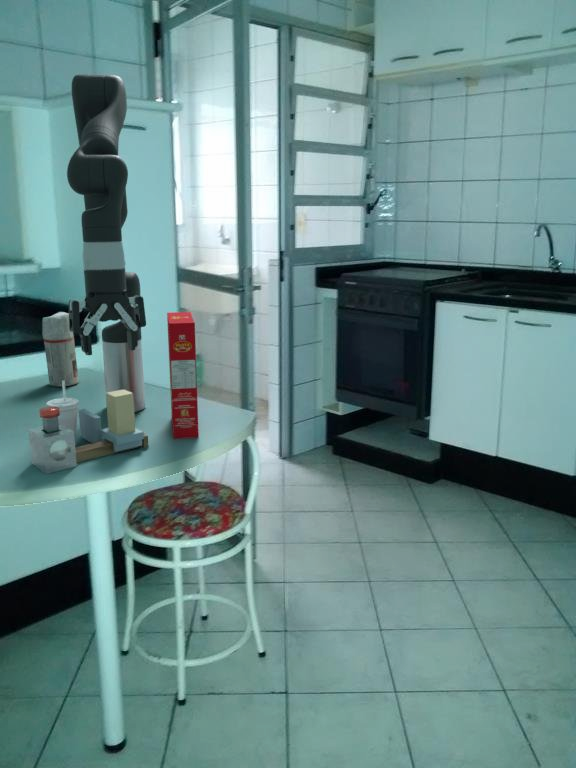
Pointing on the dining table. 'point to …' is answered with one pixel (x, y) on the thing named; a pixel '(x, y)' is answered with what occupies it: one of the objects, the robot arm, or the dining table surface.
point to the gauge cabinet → (53, 449)
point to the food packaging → (183, 374)
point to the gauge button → (50, 419)
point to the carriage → (113, 422)
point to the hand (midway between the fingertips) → (110, 352)
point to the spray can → (60, 350)
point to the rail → (100, 449)
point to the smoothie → (66, 410)
